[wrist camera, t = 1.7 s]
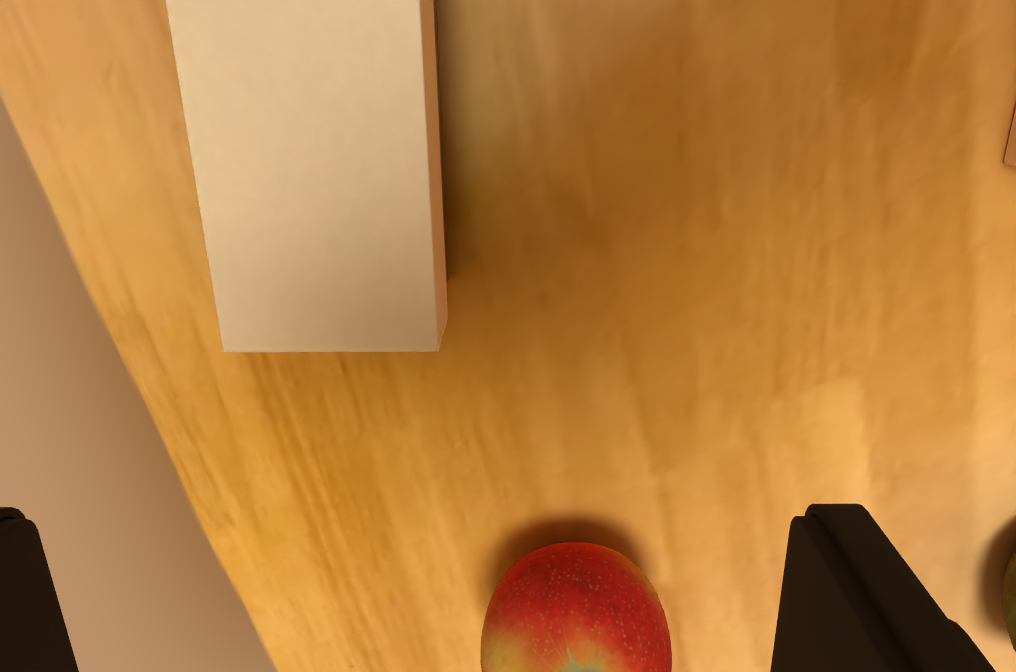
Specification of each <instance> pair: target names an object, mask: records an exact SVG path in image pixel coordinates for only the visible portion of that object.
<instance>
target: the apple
mask: <svg viewBox="0 0 1016 672" xmlns="http://www.w3.org/2000/svg"><path fill="white" fill-rule="evenodd" d="M671 668H672V651H671V641H670V634H669V629H668V625H667V621H666V617H665V613H664V610H663V608H662V605H661V603H660V601H659V598H658V596H657V593H656V592H655V590H654V588H653V587H652V585H651V583H650V582H649V580H648V579H647V577H646V576H645V575H644V574H643V572H642V571H641V570H640V569H639V568H638V567H637V566H636V565H635V564H634V563H633V562H632V561H630V560H629V559H628V558H627V557H625V556H624V555H623V554H621V553H619V552H617V551H615V550H613V549H610V548H608V547H605V546H602V545H598V544H594V543H586V542H565V543H558V544H553V545H548V546H545V547H542V548H539V549H537V550H535V551H532V552H530V553H529V554H527V555H526V556H524V557H523V558H521V559H520V560H518V561H517V562H516V563H515V564H514V565H513V566H512V567H511V568H510V569H509V570H508V571H507V572H506V574H505V575H504V576H503V578H502V579H501V581H500V582H499V584H498V586H497V587H496V589H495V591H494V594H493V596H492V598H491V601H490V603H489V606H488V608H487V612H486V616H485V621H484V625H483V629H482V637H481V669H482V672H671Z"/></svg>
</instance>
